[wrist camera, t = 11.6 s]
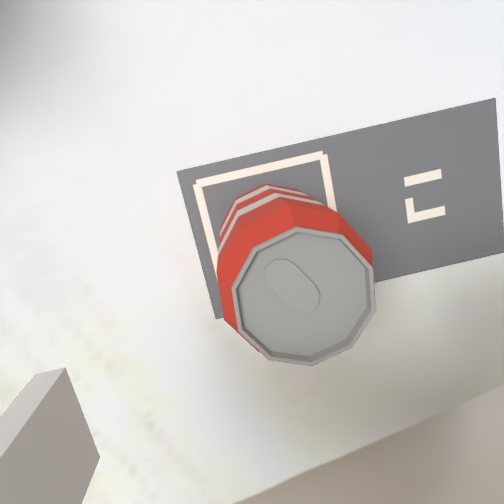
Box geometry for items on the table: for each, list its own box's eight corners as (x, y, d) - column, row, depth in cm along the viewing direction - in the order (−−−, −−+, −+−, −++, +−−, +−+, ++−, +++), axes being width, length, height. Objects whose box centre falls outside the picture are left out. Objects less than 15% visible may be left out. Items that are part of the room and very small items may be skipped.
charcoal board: (216, 317, 27) (215, 319, 27) (177, 171, 25) (176, 171, 24) (503, 251, 27) (505, 252, 27) (493, 98, 25) (495, 97, 25)
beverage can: (270, 162, 25) (308, 172, 13) (337, 234, 26) (425, 302, 14) (200, 230, 25) (178, 296, 14) (269, 297, 27) (301, 409, 15)
